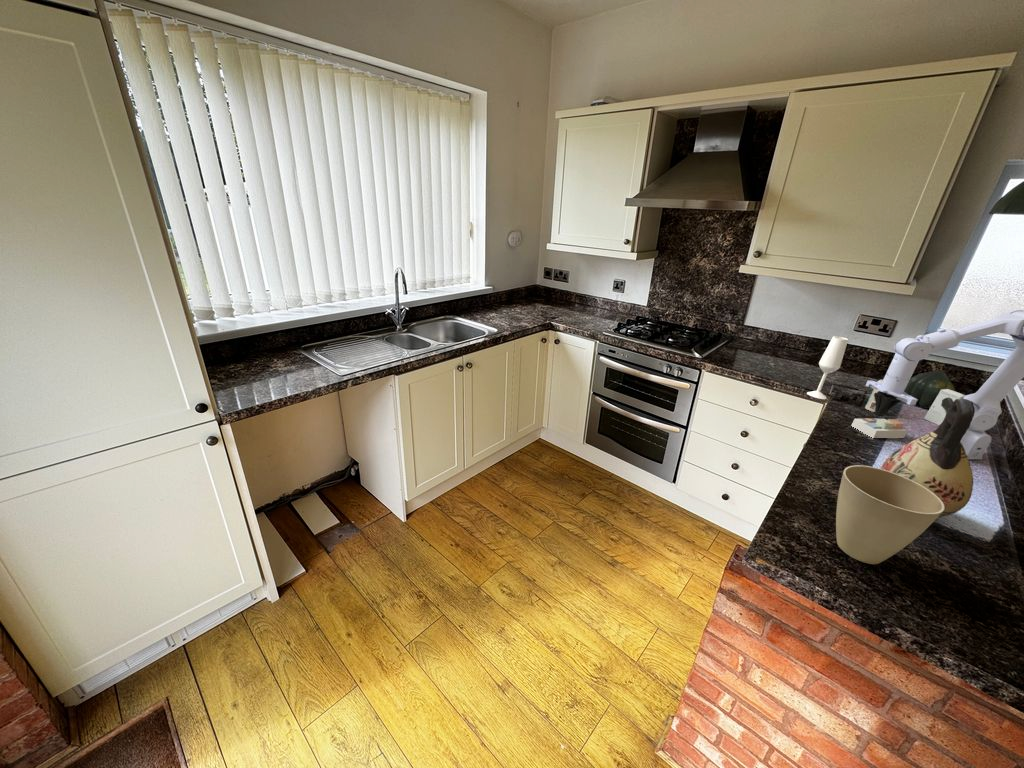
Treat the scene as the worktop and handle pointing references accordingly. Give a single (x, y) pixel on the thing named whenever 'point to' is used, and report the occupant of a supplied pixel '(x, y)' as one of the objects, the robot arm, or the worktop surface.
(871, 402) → the beige capped bottle
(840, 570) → the worktop surface
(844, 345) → the champagne flute
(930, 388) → the squash
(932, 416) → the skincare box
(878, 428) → the slate blue key
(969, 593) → the worktop surface
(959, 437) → the ceramic jug
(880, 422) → the sage key
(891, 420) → the terracotta key
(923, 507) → the plant pot
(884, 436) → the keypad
